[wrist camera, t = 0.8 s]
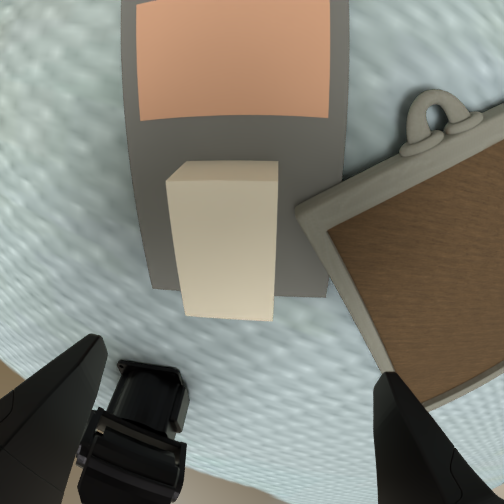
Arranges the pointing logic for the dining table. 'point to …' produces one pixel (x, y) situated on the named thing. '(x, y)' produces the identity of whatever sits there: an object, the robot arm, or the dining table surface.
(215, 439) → the dining table surface
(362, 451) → the dining table surface
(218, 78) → the mat
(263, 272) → the beige rectangular block
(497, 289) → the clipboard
